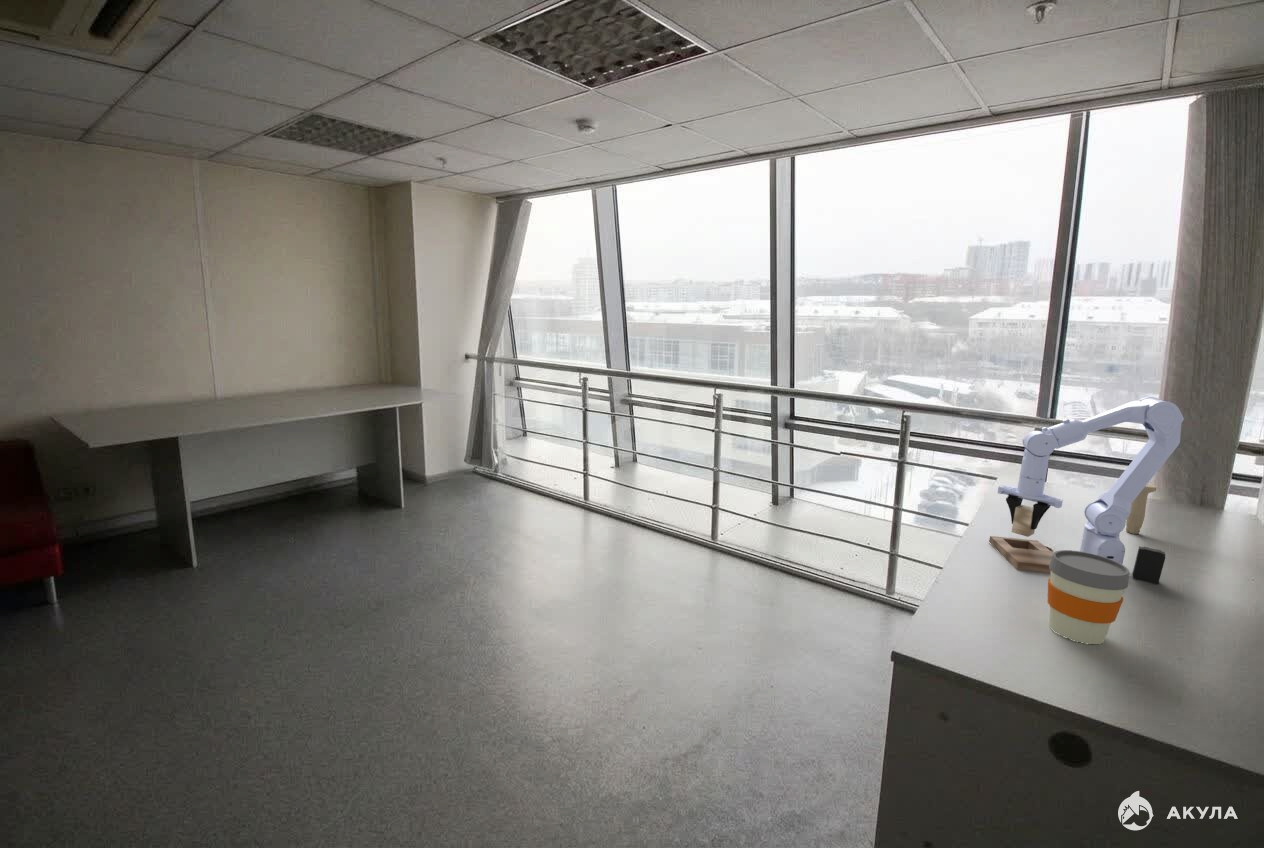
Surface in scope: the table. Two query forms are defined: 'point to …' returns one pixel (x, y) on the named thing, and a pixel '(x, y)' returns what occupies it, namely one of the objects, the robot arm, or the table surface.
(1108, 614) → the reusable coffee cup
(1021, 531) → the maple peg
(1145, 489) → the handle
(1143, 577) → the ink cartridge
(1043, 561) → the slotted walnut block
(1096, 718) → the table surface
